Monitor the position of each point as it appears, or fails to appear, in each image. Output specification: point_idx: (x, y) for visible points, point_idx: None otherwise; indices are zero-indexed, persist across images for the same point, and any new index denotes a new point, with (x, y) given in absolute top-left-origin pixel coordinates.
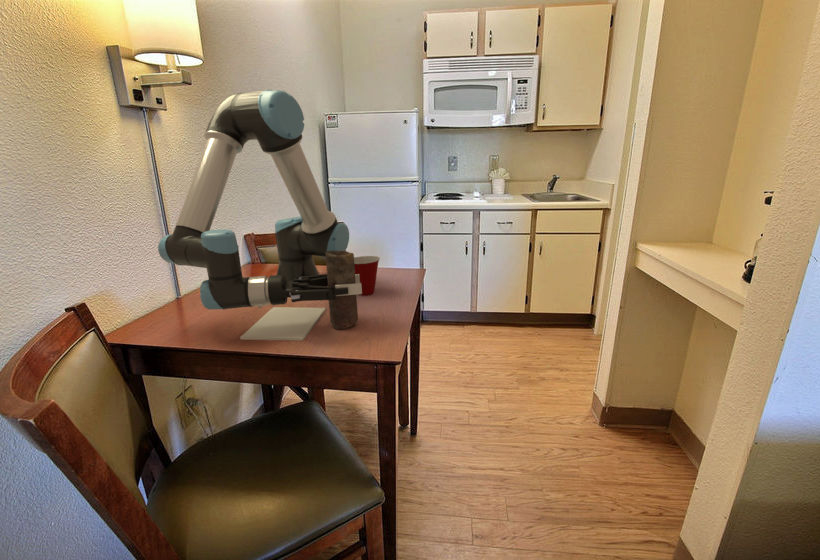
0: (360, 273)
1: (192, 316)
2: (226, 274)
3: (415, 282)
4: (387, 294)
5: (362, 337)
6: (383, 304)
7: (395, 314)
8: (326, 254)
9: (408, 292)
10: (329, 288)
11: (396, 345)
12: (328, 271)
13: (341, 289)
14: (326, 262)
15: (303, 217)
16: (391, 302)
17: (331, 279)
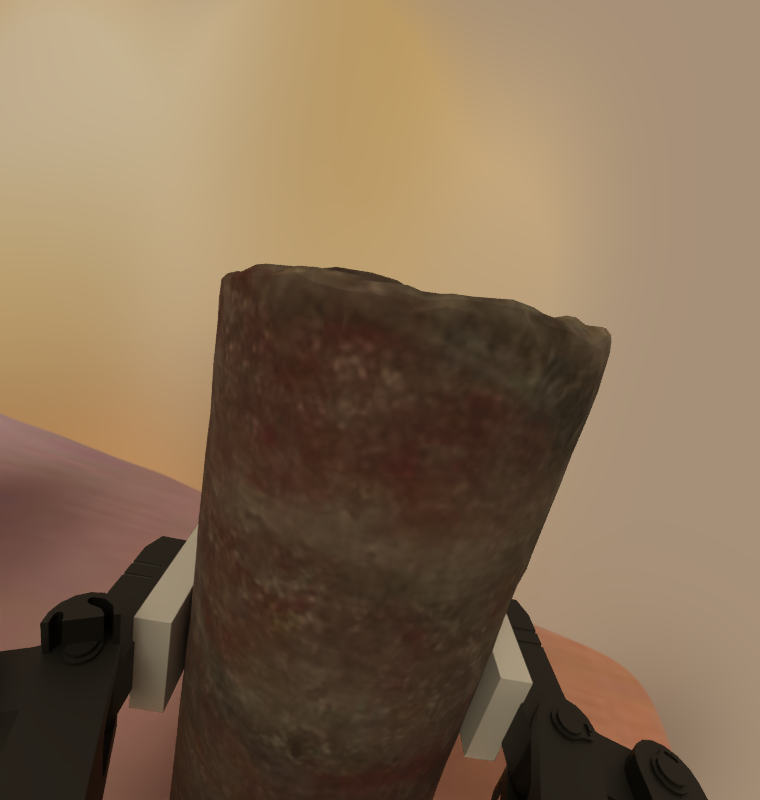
0: None
1: None
2: None
3: (4, 418)
4: (11, 513)
5: (485, 763)
6: (124, 562)
7: None
8: (551, 342)
9: (82, 462)
10: (600, 771)
11: (541, 638)
12: (477, 609)
13: (543, 651)
14: (454, 496)
15: None
16: (130, 532)
17: (481, 667)
